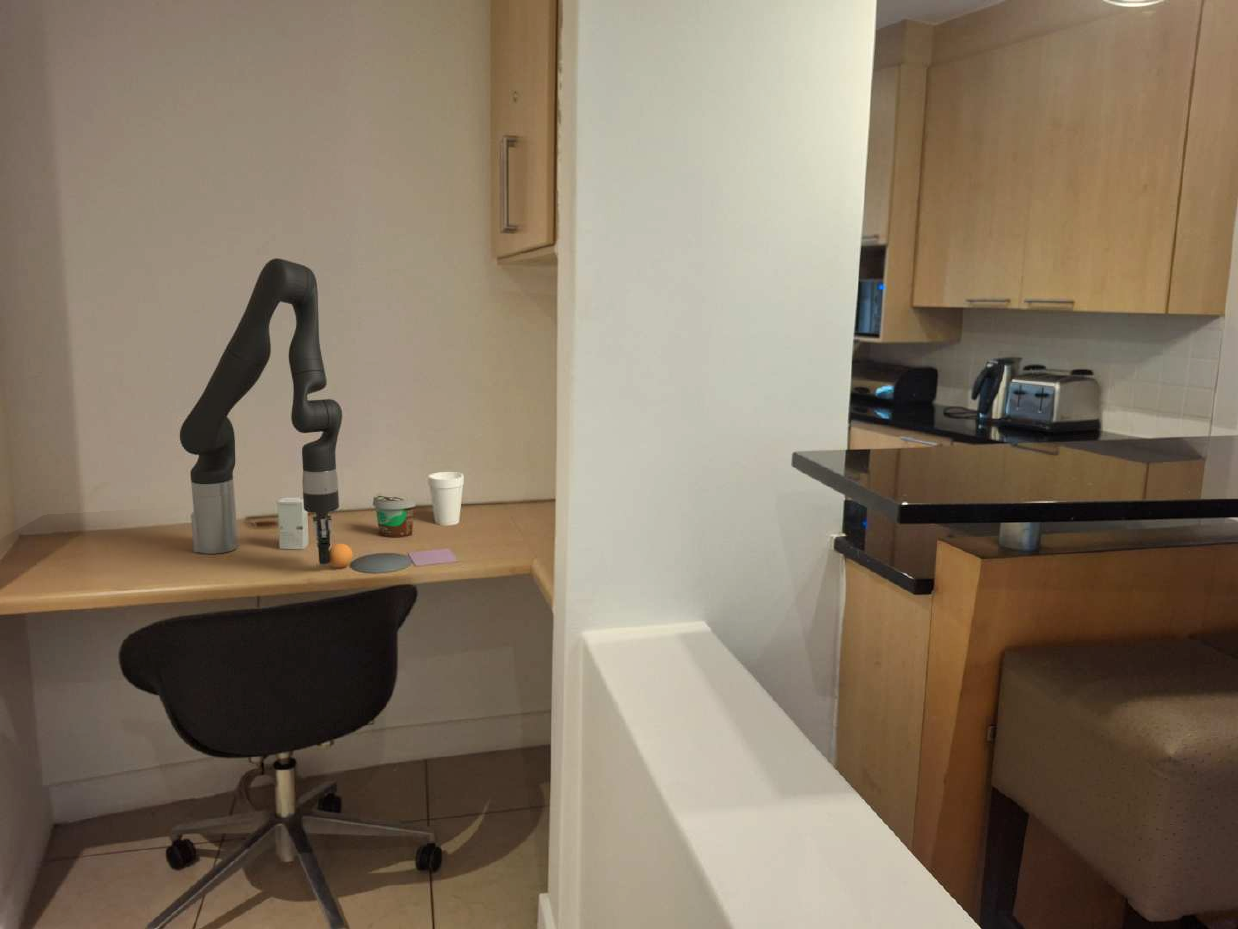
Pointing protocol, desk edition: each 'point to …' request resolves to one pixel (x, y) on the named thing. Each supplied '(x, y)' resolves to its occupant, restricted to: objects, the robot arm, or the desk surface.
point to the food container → (394, 516)
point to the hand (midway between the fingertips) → (324, 562)
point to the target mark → (381, 563)
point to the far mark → (432, 557)
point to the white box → (292, 523)
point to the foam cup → (446, 496)
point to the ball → (340, 555)
